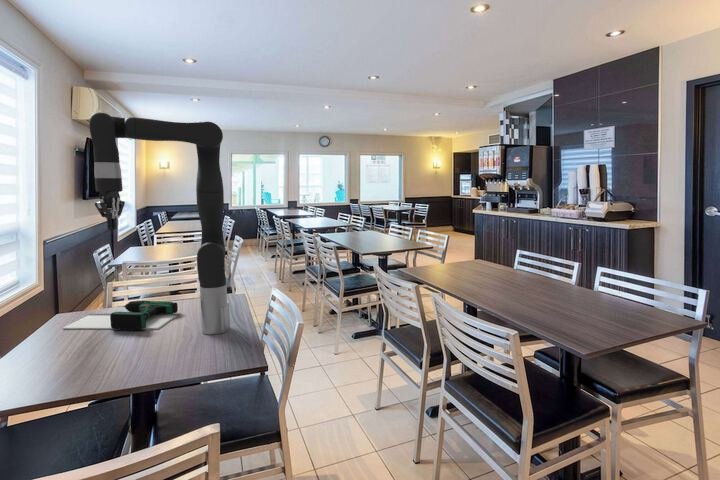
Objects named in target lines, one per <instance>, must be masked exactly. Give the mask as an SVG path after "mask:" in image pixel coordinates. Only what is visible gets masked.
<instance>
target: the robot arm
mask: <svg viewBox="0 0 720 480" xmlns="http://www.w3.org/2000/svg"><path fill="white" fill-rule="evenodd" d="M88 122H89V124H88V126H89V133H90V137H91V143H92V147H93V162H94V166H93V167H94V168H93V171H94V184H95V185H94V186H95V191H96V192H98V193H99V197H98V199H99V201H95V202H94V207H95V208H96V210H97V212H98V213H99V214H100V217H102V218H104V219H106V223H107V230H108V231H116V230H118V223H117V221H118V217H120V216H121V215H122V213H123V210H124V206H125V204H126V201H125V200H121V195H120V192H123V191H124V190H123V189H124V188H123V179H122V169H121V164H120V152H119V151H120V150H119V148H118V146H117V139H132V140H139V141H140V140H141V141H153V142H159V141H160V142H164V141H165V142H183V143H189V144H193V145H195V147H196V155H197V173H196V189H195V190H196V208H197V213H198V217H199V221H200V222H199V223H200V226H201V227H200V228H201V239H200V240H201V241H200V242H201V243H200V247H199V249H198V250H197V253H196V254H197V255H196V265H197V278H198V282H199V294H200V295H199V296H200V297H199V298H200V311H201V312H200V316H201V317H200V318H201V332H202V334H205V335H217V334H225V333H226V332H228V330H230V328H231V316H230V315H231V314H230V311H231V310H230V303H229V302H228V294H227V293H228V291H227V290H228V289H227V277H226V276H227V275H226V265H225V264H226V263H225V259H226V245H225V242H224V241H225V240H224V233H223V232H224V230H223V224H224V208H225V206H224V205H225V203H224V202H225V199H224V198H225V197H224V196H225V193H224V183H223V175H222V172H221V171H222V170H221V165H220V157H221V156H220V155H221V144H222V141H223V140H224V139H223V137H224V135H223V131H222V129H221V127H220V126H219V125H218V124H217V123H216V122H212V121H200V122H199V121H197V122H181V121H180V122H175V121H167V120H159V119H151V118H145V117H135V116H133V117H132V116H130V117H120V116H111V115H110V114H108V113H106V112H96V113H93V115H92V114H91V117H90V118H89V121H88Z"/></svg>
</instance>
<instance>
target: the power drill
mask: <svg viewBox="0 0 720 480" xmlns="http://www.w3.org/2000/svg"><path fill="white" fill-rule="evenodd" d="M119 307H123V308H125V309H126V311H114V312H111V313H110V314H111V315H110V320H111V328H112V329H111V330H132V331H141V330H145V329H144V328H145V327H146V322H147V321H146V319H148V318H150V317H152V316H153V315H155V314H177V313H178V310H179V308H178V307H179V306H178V302H173V301H160V300H159V301H158V300H157V301H156V300H133V301H128V303H126V304H125V305H117V308H119Z"/></svg>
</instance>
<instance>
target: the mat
mask: <svg viewBox="0 0 720 480" xmlns="http://www.w3.org/2000/svg"><path fill="white" fill-rule="evenodd" d="M110 315H111V313H88V315H87V316H84V317H81V319H78V320H76V321H74V322H72V323H70V324H66V325H65V326H64V327H62V330H113V329H112V328H111V320H110ZM176 317H178V313H173V314H166V313H161V314H155V315H153V316H152V317H150V318H148V319H146V321H147V322H146V327H145V328H144V329H143V330H159V329H161V328H162V327H164V326H165V325H166V324H168V323H169V322H171V321H172V320H174V319H175V318H176Z"/></svg>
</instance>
